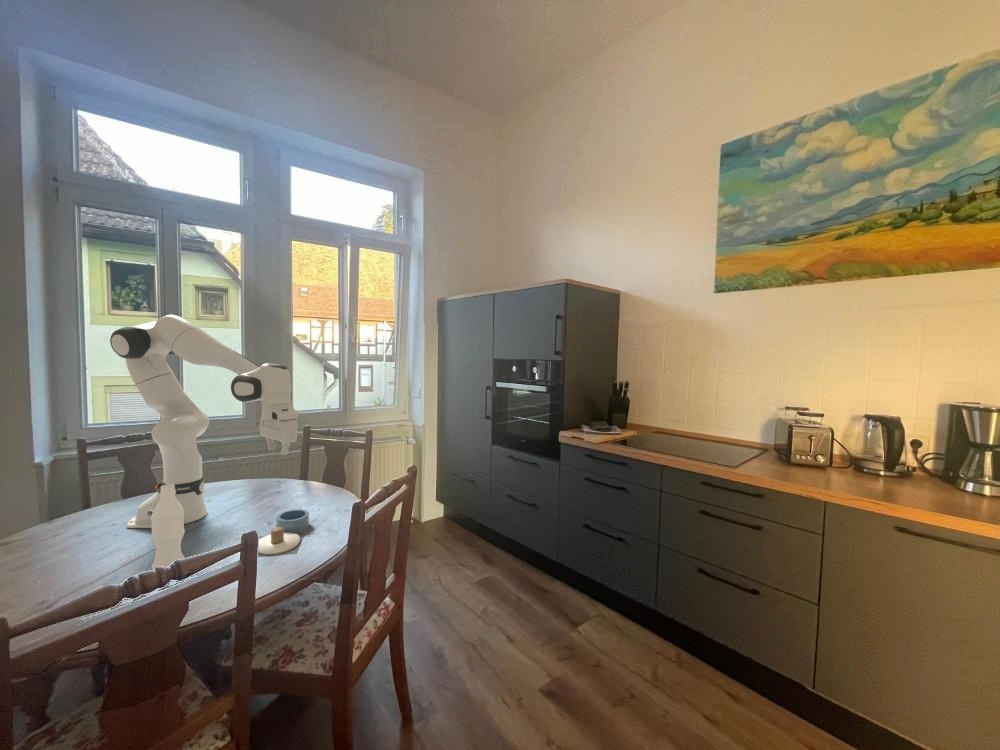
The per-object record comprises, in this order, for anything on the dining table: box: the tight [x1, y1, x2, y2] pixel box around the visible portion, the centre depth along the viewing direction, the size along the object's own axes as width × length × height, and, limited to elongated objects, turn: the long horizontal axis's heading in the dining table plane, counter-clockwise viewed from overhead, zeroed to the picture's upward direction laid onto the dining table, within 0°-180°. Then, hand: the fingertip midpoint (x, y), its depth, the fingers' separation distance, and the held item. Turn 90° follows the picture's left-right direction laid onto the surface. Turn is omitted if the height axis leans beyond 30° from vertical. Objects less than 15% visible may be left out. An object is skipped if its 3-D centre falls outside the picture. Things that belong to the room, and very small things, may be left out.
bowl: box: [275, 508, 310, 534], centre depth 142 cm, size 10×10×5 cm
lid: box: [258, 526, 300, 556], centre depth 129 cm, size 13×13×5 cm
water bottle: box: [150, 484, 186, 570], centre depth 112 cm, size 7×7×25 cm
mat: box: [257, 532, 306, 558], centre depth 130 cm, size 14×14×1 cm
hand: (278, 452), depth 135 cm, fingers open, 8 cm apart
